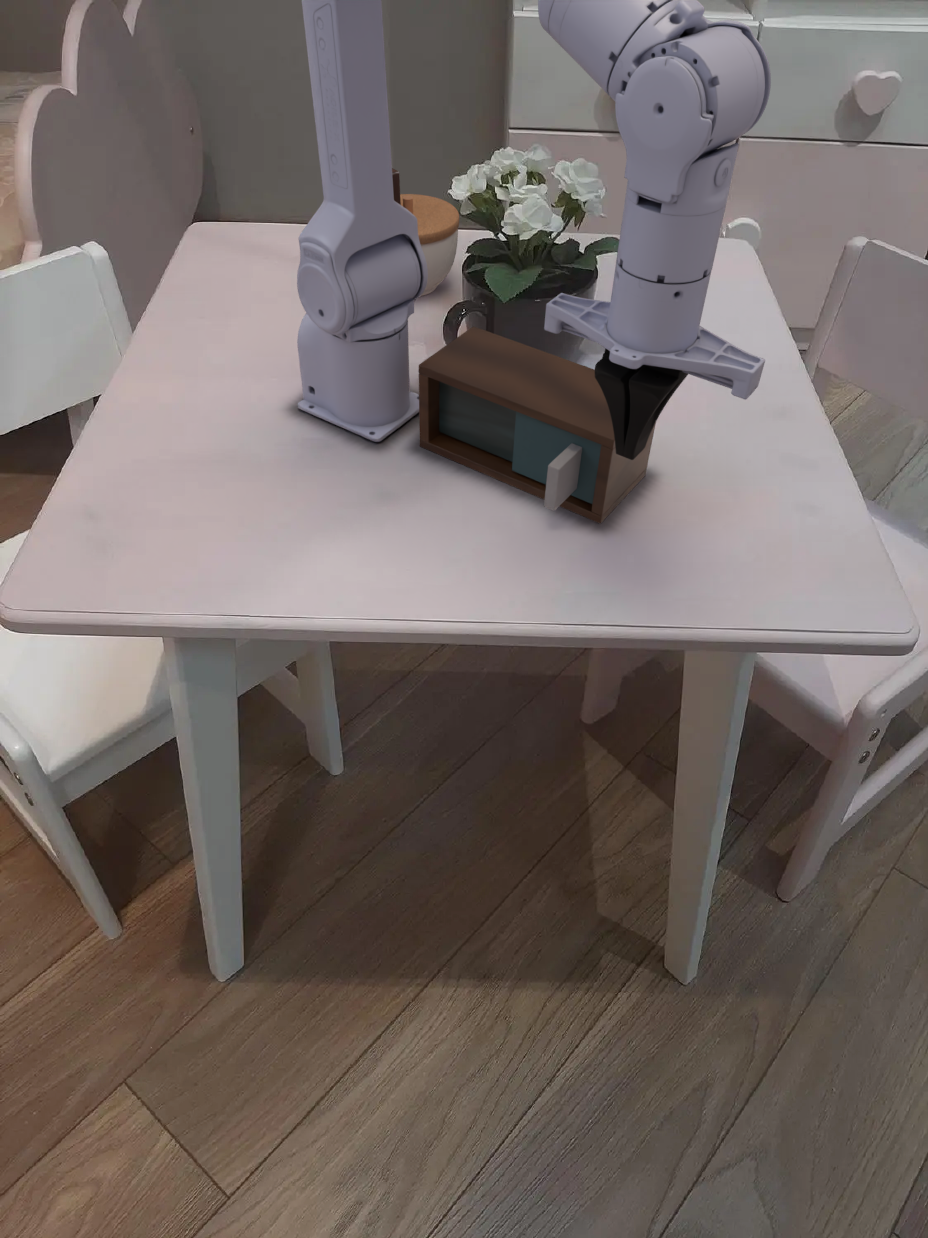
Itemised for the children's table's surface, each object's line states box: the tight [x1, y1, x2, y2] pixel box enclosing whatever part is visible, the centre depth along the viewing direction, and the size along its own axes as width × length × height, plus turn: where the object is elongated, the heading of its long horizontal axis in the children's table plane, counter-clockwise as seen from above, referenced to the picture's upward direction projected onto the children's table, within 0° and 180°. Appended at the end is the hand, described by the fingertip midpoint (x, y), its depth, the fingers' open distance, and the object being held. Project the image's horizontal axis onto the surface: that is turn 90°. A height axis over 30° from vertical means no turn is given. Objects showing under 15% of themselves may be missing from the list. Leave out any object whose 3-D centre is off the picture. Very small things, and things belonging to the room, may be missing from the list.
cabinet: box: [418, 326, 657, 525], centre depth 78 cm, size 8×18×8 cm, turn 56°
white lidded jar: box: [400, 193, 460, 297], centre depth 100 cm, size 11×11×9 cm
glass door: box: [512, 411, 601, 512], centre depth 73 cm, size 4×8×6 cm, turn 56°
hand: (630, 450), depth 66 cm, fingers closed
